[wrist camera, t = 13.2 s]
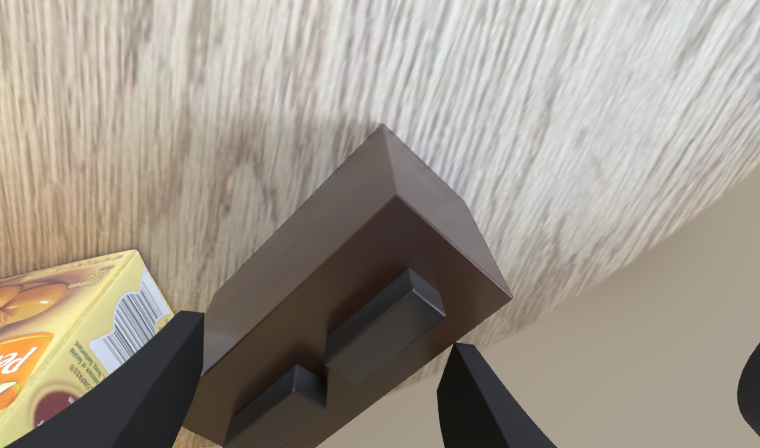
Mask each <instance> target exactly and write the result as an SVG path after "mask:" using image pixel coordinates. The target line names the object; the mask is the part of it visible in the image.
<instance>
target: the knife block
mask: <svg viewBox="0 0 760 448" xmlns="http://www.w3.org/2000/svg"><path fill="white" fill-rule="evenodd" d="M512 299H513V296H512V294H511V292H510V290H509V288H508V286H507V284H506V282H505V280H504V278H503V276H502V274H501V272H500V270H499V268H498V266H497V264H496V262H495V260H494V258H493V256H492V254H491V252H490V250H489V248H488V246H487V244H486V242H485V240H484V238H483V236H482V234H481V232H480V231H479V229H478V227H477V225H476V223H475V221H474V219H473V217H472V215H471V213H470V211H469V209H468V207H467V205H466V203H465V201H464V200H462V199H461V198H460V197H459V196H458V195H457V194H456V193H455V192H454V191H453V190H452V189H451V188H450V187H449V186H448V185H447V184H446V183H445V182H444V181H443V180H442V179H441V178H440V177H439V176H437V175H436V174H435V173H434V172H433V171H432V170H431V169H430V168H429V167H428V166H427V165H426V164H425V163H424V162H423V161H422V160H421V159H420V158H419V157H418V156H417V155H416V154H415V153H414V152H412V151H411V150H410V149H409V148H408V147H407V146H406V145H405V144H404V143H403V142H402V141H401V140H400V139H399V138H398V137H397V136H396V135H395V134H394V133H393V132H392V131H391V130H390V129H389V128H387V127H386V126H385V125H384V124H381V125H380V126H379V127H378V128H377V129H376V130H375V131H374V132H373V133H372V134H371V135H370V136H369V137H368V138H367V139H366V140H365V141H364V143H363V144H362V145H361V146H360V147H359V148H358V149H357V150H356V151H355V152H354V153H353V154H352V155H351V156H350V157H349V158H348V159H347V160H346V161H345V162H344V163H343V164H342V165H341V166H340V167H339V168H338V169H337V170H336V171H335V172H334V173H333V174H332V175H331V176H330V177H329V178H328V179H327V180H326V181H325V182H324V183H323V184H322V185H321V186H320V187H319V188H318V189H317V190H316V191H315V192H314V193H313V194H312V195H311V196H310V197H309V199H308V200H307V201H306V202H305V203H304V204H303V205H302V206H301V207H300V208H299V209H298V210H297V211H296V212H295V213H294V214H293V215H292V216H291V217H290V218H289V219H288V220H287V221H286V222H285V223H284V224H283V225H282V226H281V227H280V228H279V229H278V230H277V231H276V232H275V233H274V234H273V235H272V236H271V237H270V238H269V239H268V240H267V241H266V242H265V243H264V244H263V245H262V246H261V247H260V248H259V249H258V250H257V251H256V252H255V253H254V254H253V256H252V257H251V258H250V259H249V260H248V261H247V262H246V263H245V264H244V265H243V266H242V267H241V268H240V269H239V270H238V271H237V272H236V273H235V274H234V275H233V276H232V277H231V278H230V279H229V280H228V281H227V282H226V283H225V284H224V285H223V286H222V287H221V288H220V289H219V290H218V291H217V292H216V293H215V294H214V297H213V299H212V301H211V303H210V305H209V308H208V310H207V312H206V314H205V317H204V354H203V369H202V373H201V376H200V379H199V382H198V386H197V389H196V392H195V395H194V398H193V401H192V404H191V406H190V408H189V410H188V413H187V415H186V417H185V419H184V422H183V424H182V427H184V428H186V429H188V430H190V431H192V432H194V433H196V434H198V435H200V436H202V437H204V438H206V439H208V440H210V441H212V442H214V443H216V444H218V445H220V446H222V447H223V448H315V447H317V446H318V445H319V444H321V443H322V442H323V441H325V440H326V439H327V438H329V437H330V436H331V435H332V434H334V433H335V432H337V431H338V430H339V429H340V428H342V427H343V426H344V425H346V424H347V423H348V422H350V421H351V420H352V419H354V418H355V417H356V416H358V415H359V414H360V413H362V412H363V411H364V410H366V409H367V408H368V407H370V406H371V405H372V404H374V403H375V402H376V401H378V400H379V399H380V398H382V397H383V396H384V395H386V394H387V393H388V392H390V391H391V390H392V389H394V388H395V387H396V386H398V385H399V384H400V383H402V382H403V381H404V380H406V379H407V378H408V377H410V376H411V375H412V374H414V373H415V372H416V371H418V370H419V369H420V368H422V367H423V366H424V365H425V364H427V363H428V362H429V361H431V360H432V359H433V358H435V357H436V356H437V355H439V354H440V353H441V352H443V351H444V350H445V349H447V348H448V347H449V346H451V345H452V344H453V343H455V342H456V341H457V340H459V339H460V338H461V337H463V336H464V335H465V334H467V333H468V332H469V331H471V330H472V329H473V328H475V327H476V326H477V325H479V324H480V323H481V322H483V321H484V320H485V319H487V318H488V317H489V316H491V315H492V314H493V313H495V312H496V311H497V310H499V309H500V308H501V307H503V306H504V305H505V304H506V303H508V302H509V301H510V300H512Z"/></svg>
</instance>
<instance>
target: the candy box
mask: <svg viewBox="0 0 760 448" xmlns="http://www.w3.org/2000/svg"><path fill="white" fill-rule="evenodd" d="M174 316H175V315H174V313H173V312H172V310H171V308H170V306H169V305H168V303H167V301H166V300H165V298H164V296H163V294H162V293H161V291H160V289H159V288H158V286H157V284H156V283H155V281H154V279H153V278H152V276H151V274H150V273H149V271H148V269H147V267H146V265H145V264H144V262H143V260H142V258H141V256H140V254H139V253H138V251H137V250H134V249H132V250H127V251H123V252H118V253H113V254H108V255H105V256H99V257H95V258H90V259H86V260H81V261H77V262H72V263H68V264H64V265H59V266H55V267H50V268H46V269H41V270H37V271H33V272H28V273H24V274H20V275H16V276H12V277H8V278H3V279H0V448H4V447H5V446H7V445H9V444H10V443H12V442H14V441H15V440H17V439H19V438H20V437H22V436H24V435H25V434H27V433H28V432H30V431H31V430H33V429H35V428H36V427H38V426H39V425H41V424H42V423H44V422H45V421H47V420H49V419H50V418H52V417H53V416H55V415H56V414H58V413H59V412H60V411H62V410H63V409H65V408H66V407H68V406H69V405H71V404H72V403H73V402H75V401H76V400H78V399H79V398H80V397H82V396H83V395H84V394H86V393H87V392H88V391H90V390H91V389H92V388H94V387H95V386H96V385H97V384H99V383H100V382H101V381H102V380H104V379H105V378H106V377H107V376H109V375H110V374H111V373H112V372H114V371H115V370H116V369H117V368H119V367H120V366H121V365H122V364H123V363H124V362H126V361H127V360H128V359H129V358H130V357H131V356H132V355H133V354H135V353H136V352H137V351H138V350H139V349H140V348H141V347H143V346H144V345H145V344H146V343H147V342H148V341H149V340H150V339H151V338H152V337H153V336H154V335H156V334H157V333H158V332H159V331H160V330H161V329H162V328H163V327H164V326H165V325H166V324H167V323H168V322H169V321H170V320H171V319H172V318H173V317H174Z"/></svg>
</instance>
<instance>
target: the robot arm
mask: <svg viewBox="0 0 760 448" xmlns="http://www.w3.org/2000/svg"><path fill="white" fill-rule="evenodd" d="M203 354H204V313H199V312H191V311H183V310H181V311H180V312H178V313H177V314H176V315H175V316H174V317H173V318H172V319H171V320H170V321H169V322H168V323H167V324H166V325H165V326H164V327H163V328H162V329H161V330H160V331H159V332H158V333H157V334H156V335H154V336H153V337H152V338H151V339H150V340H149V341H148V342H147V343H146V344H145V345H144V346H143V347H141V348H140V349H139V350H138V351H137V352H136V353H135V354H133V355H132V356H131V357H130V358H129V359H128V360H127V361H126V362H124V363H123V364H122V365H121V366H120V367H119V368H117V369H116V370H115V371H114V372H112V373H111V374H110V375H109V376H107V377H106V378H105V379H104V380H102V381H101V382H100V383H99V384H97V385H96V386H95V387H94V388H92V389H91V390H90V391H88V392H87V393H86V394H84V395H83V396H82V397H80V398H79V399H78V400H76V401H75V402H73V403H72V404H71V405H69V406H68V407H66V408H65V409H63V410H62V411H60V412H59V413H58V414H56V415H55V416H53V417H52V418H50V419H49V420H47V421H45V422H44V423H42V424H41V425H39V426H38V427H36V428H35V429H33V430H31V431H30V432H28V433H27V434H25V435H24V436H22V437H20V438H19V439H17V440H15V441H14V442H12V443H10V444H9V445H7V446H5V447H4V448H172V446H173V444H174V442H175V440H176V437H177V435H178V433H179V431H180V428H181V426H182V424H183V422H184V419H185V417H186V415H187V413H188V410H189V408H190V406H191V404H192V401H193V398H194V395H195V392H196V389H197V386H198V382H199V379H200V376H201V373H202V369H203ZM437 400H438V412H439V421H440V428H441V432H442V437H443V442H444V446H445V448H557V447H556V446H555V445H554V444H553V443H552V442H551V441H550V440H549V439H548V438H547V436H546V435H545V434H544V433H543V432H542V431H541V430H540V429H539V428H538V426H537V425H536V424H535V423H534V422H533V421H532V420H531V418H530V417H529V416H528V415H527V414H526V412H525V411H524V410H523V409H522V408H521V406H520V405H519V404H518V403H517V401H516V400H515V399H514V398H513V396H512V395H511V394H510V393H509V391H508V390H507V389H506V387H505V386H504V385H503V384H502V382H501V381H500V380H499V378H498V377H497V376H496V374H495V373H494V372H493V370H492V369H491V367H490V366H489V365H488V363H487V362H486V361H485V359H484V358H483V357H482V355H481V354H480V353H479V351H478V350H477V349H476V347H475V346H474V345H471V344H462V343H454V344H453V347H452V350H451V353H450V355H449V358H448V361H447V364H446V367H445V369H444V372H443V375H442V378H441V381H440V383H439V386H438V389H437Z"/></svg>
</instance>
